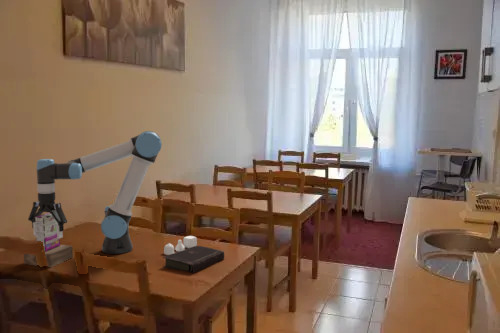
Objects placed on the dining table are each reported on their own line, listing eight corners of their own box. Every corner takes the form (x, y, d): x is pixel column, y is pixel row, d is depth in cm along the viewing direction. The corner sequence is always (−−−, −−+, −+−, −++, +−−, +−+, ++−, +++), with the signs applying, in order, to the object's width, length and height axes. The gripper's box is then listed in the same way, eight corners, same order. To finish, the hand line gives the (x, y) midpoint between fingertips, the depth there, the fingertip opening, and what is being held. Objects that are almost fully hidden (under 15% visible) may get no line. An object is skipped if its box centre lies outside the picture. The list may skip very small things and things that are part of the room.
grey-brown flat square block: (72, 258, 230) (72, 245, 229) (51, 267, 216) (50, 254, 215) (47, 254, 234) (46, 243, 234) (24, 263, 220) (23, 251, 220)
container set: (189, 245, 255) (189, 235, 254) (196, 247, 252) (196, 237, 251) (161, 253, 239) (161, 243, 239) (168, 255, 236) (168, 245, 235)
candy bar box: (51, 244, 230) (50, 211, 229) (60, 245, 229) (59, 212, 227) (35, 251, 220) (34, 216, 218) (45, 252, 218) (44, 217, 217)
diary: (224, 260, 231) (224, 250, 230) (193, 275, 209) (193, 264, 209) (193, 253, 240) (194, 244, 240) (161, 267, 219) (161, 256, 218)
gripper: (74, 192, 221) (75, 237, 224) (30, 189, 229) (32, 232, 231) (63, 195, 214) (64, 241, 216) (18, 191, 222) (20, 236, 224)
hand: (48, 236), depth 224 cm, fingers open, 13 cm apart
